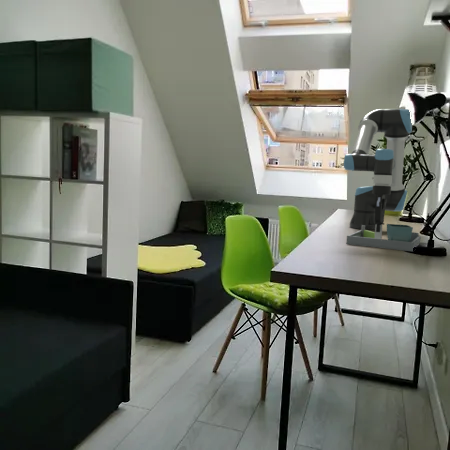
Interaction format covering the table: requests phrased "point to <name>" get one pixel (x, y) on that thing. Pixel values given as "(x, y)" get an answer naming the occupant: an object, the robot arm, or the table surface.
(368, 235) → the gate
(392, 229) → the flower pot
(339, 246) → the table surface
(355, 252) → the table surface
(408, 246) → the grey desk tray
